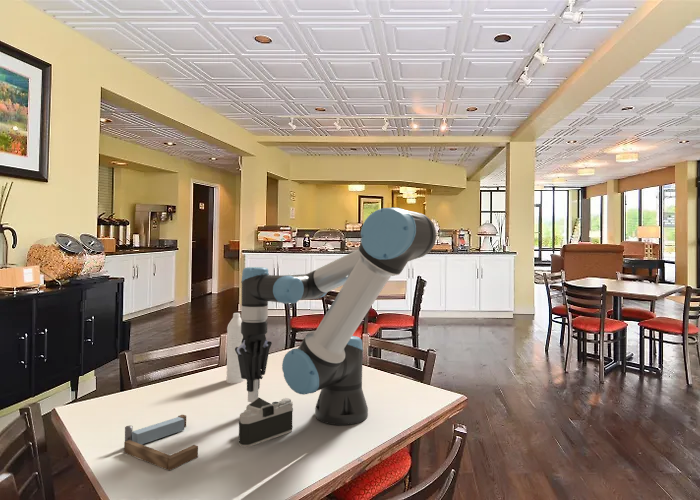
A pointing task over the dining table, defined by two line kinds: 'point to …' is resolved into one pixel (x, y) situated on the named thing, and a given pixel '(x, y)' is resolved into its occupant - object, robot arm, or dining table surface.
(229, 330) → the water bottle
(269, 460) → the dining table surface
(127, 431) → the pivot pin
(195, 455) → the left rail
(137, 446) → the back rail
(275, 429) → the camera
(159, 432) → the leg bar
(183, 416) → the stop block
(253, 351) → the robot arm
